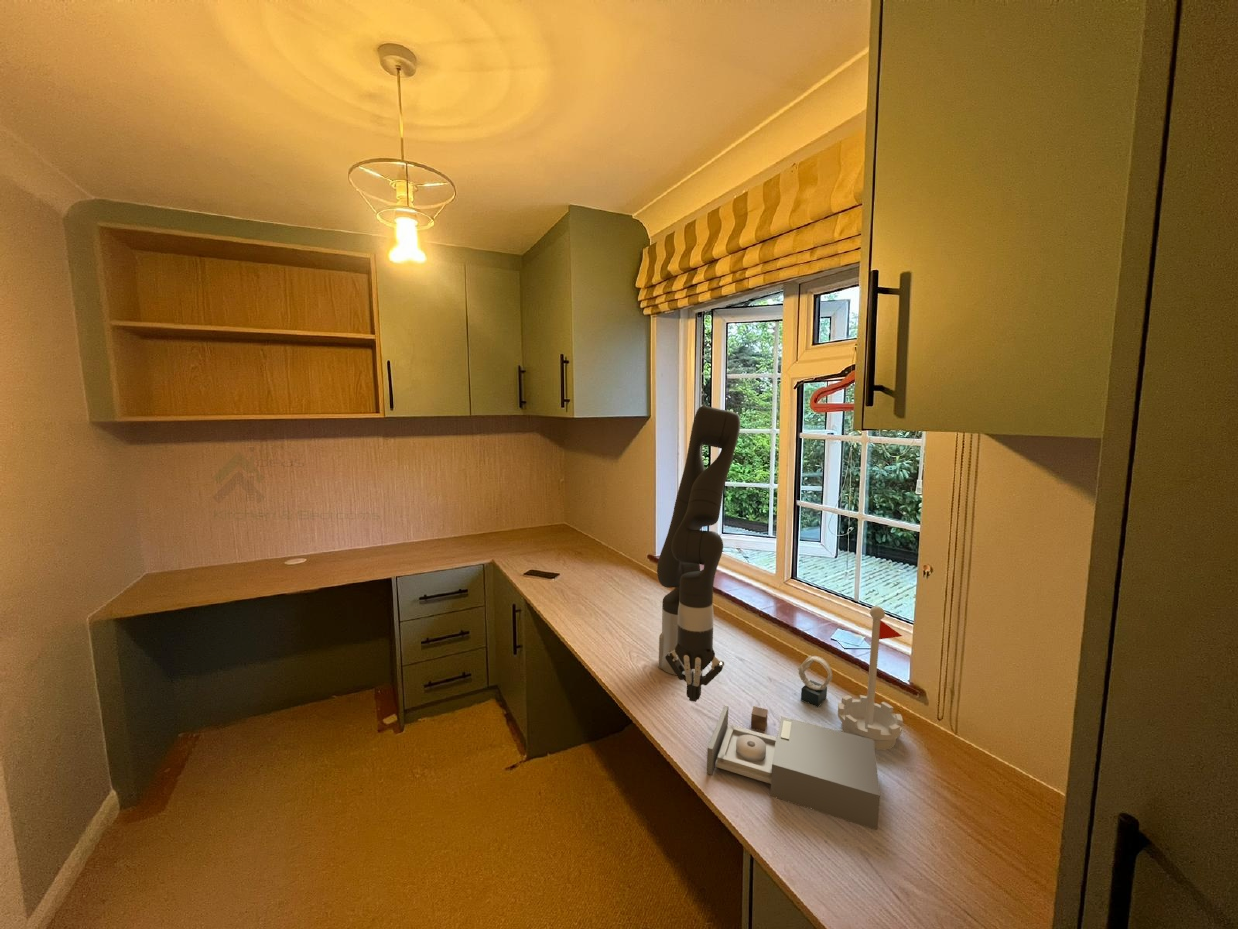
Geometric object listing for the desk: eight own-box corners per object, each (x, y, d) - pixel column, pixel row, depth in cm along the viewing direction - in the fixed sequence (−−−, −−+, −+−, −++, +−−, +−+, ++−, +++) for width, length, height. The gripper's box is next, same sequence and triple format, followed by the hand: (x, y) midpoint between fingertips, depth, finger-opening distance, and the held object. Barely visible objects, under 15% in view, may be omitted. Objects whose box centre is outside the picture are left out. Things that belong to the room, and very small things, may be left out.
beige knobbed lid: (733, 756, 100) (734, 748, 100) (738, 738, 106) (738, 731, 106) (764, 765, 98) (764, 757, 98) (767, 746, 103) (767, 739, 103)
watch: (802, 688, 129) (804, 648, 128) (833, 701, 124) (836, 659, 122) (793, 697, 125) (795, 656, 124) (824, 710, 120) (827, 668, 118)
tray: (706, 773, 98) (707, 747, 97) (723, 728, 112) (724, 705, 111) (802, 803, 91) (804, 776, 90) (807, 751, 105) (808, 727, 104)
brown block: (750, 728, 113) (751, 713, 112) (752, 720, 115) (753, 706, 115) (765, 731, 111) (765, 717, 111) (767, 723, 114) (767, 709, 114)
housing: (770, 795, 93) (772, 763, 92) (779, 744, 107) (780, 715, 107) (877, 830, 86) (880, 794, 85) (871, 769, 100) (873, 738, 99)
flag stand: (828, 734, 111) (837, 607, 108) (846, 708, 121) (855, 591, 117) (892, 762, 102) (904, 624, 99) (906, 732, 112) (917, 606, 109)
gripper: (730, 621, 105) (727, 697, 107) (670, 610, 110) (669, 684, 112) (723, 635, 98) (720, 716, 100) (660, 623, 103) (659, 701, 105)
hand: (693, 699), depth 106 cm, fingers closed
